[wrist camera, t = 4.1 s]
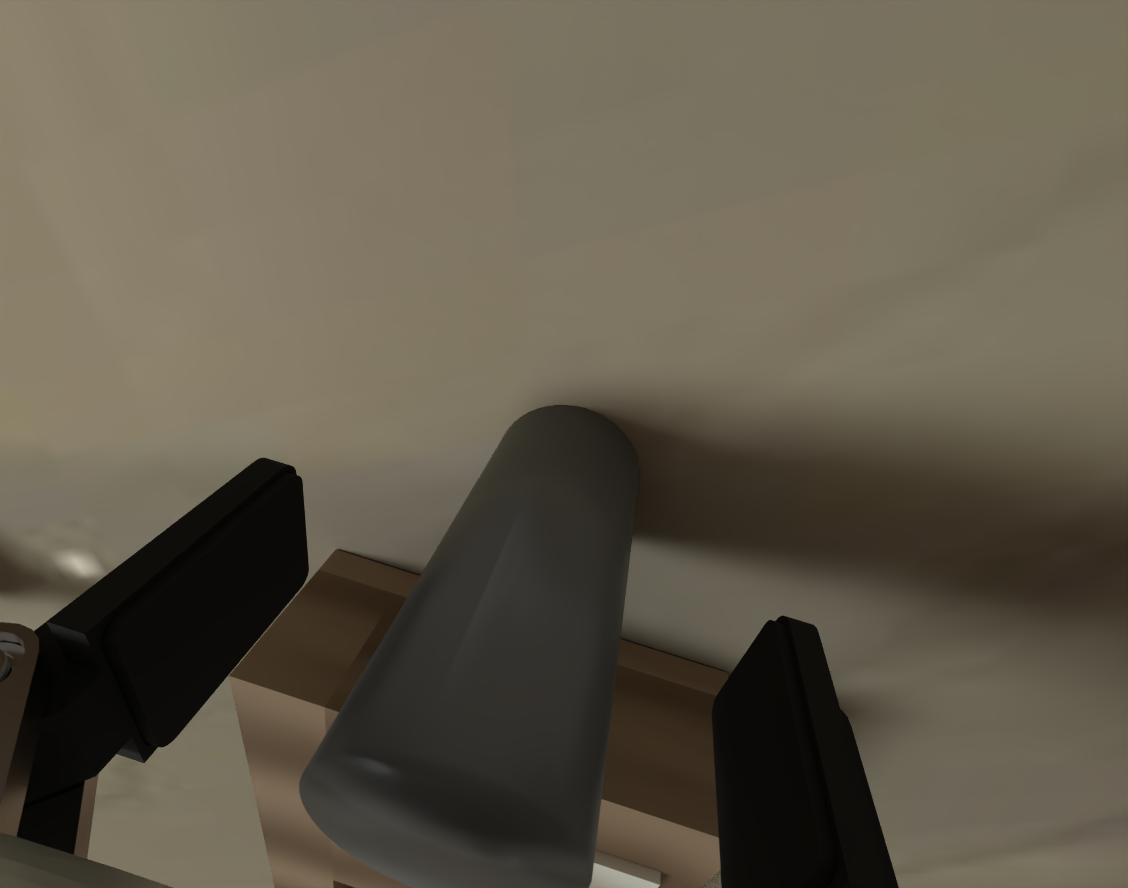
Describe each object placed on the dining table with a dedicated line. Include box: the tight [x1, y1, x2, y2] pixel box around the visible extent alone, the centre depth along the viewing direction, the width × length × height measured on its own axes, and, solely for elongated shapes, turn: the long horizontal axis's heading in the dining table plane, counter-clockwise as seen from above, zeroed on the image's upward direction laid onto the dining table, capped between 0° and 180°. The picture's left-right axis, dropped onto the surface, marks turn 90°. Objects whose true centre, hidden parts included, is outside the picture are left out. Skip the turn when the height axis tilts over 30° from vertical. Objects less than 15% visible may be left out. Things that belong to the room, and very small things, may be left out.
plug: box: [299, 405, 639, 888], centre depth 11 cm, size 4×4×9 cm
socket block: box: [229, 550, 728, 888], centre depth 21 cm, size 20×14×5 cm
